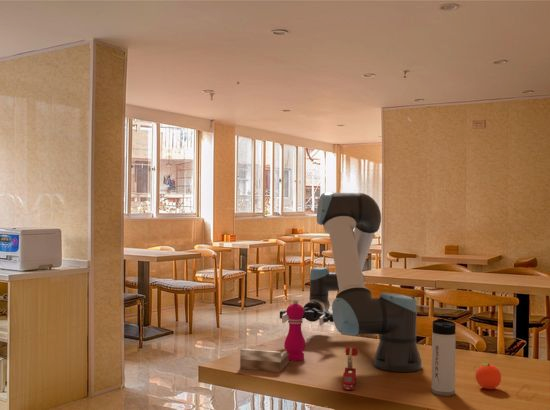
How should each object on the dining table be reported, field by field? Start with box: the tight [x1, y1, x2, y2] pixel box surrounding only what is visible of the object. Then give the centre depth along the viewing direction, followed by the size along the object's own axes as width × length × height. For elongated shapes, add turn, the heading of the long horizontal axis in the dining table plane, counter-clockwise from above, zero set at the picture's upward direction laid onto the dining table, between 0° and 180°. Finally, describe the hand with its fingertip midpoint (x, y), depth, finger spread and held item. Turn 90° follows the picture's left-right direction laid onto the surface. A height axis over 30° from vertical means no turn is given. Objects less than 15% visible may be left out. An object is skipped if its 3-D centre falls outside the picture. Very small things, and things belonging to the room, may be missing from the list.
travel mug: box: [431, 318, 457, 397], centre depth 164 cm, size 6×7×20 cm
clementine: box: [473, 363, 502, 390], centre depth 168 cm, size 8×7×7 cm
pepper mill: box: [283, 298, 307, 362], centre depth 199 cm, size 7×7×20 cm
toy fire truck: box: [342, 346, 358, 391], centre depth 171 cm, size 3×14×10 cm, turn 168°
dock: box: [239, 347, 290, 373], centre depth 189 cm, size 13×11×6 cm
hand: (301, 320), depth 208 cm, fingers open, 13 cm apart
